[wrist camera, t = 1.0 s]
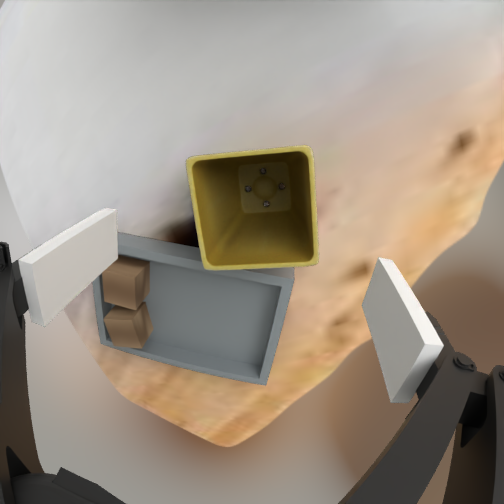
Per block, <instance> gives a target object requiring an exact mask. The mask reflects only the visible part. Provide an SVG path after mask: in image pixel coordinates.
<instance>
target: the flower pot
mask: <svg viewBox="0 0 504 504" xmlns="http://www.w3.org/2000/svg"><path fill="white" fill-rule="evenodd" d="M262 168H264V169H266V173H265V174H262V173H261V172H260V170H261V169H262ZM186 170H187V176H188V182H189V188H190V194H191V200H192V206H193V212H194V218H195V224H196V230H197V236H198V242H199V248H200V253H201V259H202V263H203V266H204V269H206V270H213V271H217V270H241V269H263V268H284V267H306V266H312V265H316V264H318V261H319V243H318V224H317V206H316V189H315V169H314V156H313V151H312V149H311V148H310V147H309V146H306V145H301V146H289V147H280V148H270V149H260V150H250V151H239V152H228V153H218V154H208V155H198V156H192V157H189V158H188V159H187V160H186ZM281 183H282V184H284V185H285V187H284V189H280V188H279V184H281ZM247 186H250V187H251V191H249V192H248V191H246V189H245V188H246V187H247ZM265 201H268V202H269V206H267V207H266V206H264V202H265Z"/></svg>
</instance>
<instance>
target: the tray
mask: <svg viewBox="0 0 504 504" xmlns="http://www.w3.org/2000/svg"><path fill="white" fill-rule="evenodd" d="M117 242H118V255H122V256H127V257H131V258H136V259H140V260H145V261H149V262H150V292H149V294H148V295H147V296H146V298H145V299H144V300H143V302H146V306H147V309H148V312H149V316H150V319H151V322H152V325H153V328H154V329H153V331H152V333H151V334H150V336H149V338H148V339H147V341H146V342H145V344H144V346H143V347H142V349H141V348H129V347H118V346H114V345H113V343H112V340H111V338H110V335H109V333H108V330H107V327H106V325H105V322H104V320H103V319H104V318H105V316H106V315H107V314H108V313H109V312H110V310H111V309H112V308H113V307H114V306H115V304H111V303H108V302H105V301H104V291H103V279H102V273H101V274H100V275H99V276H98V277H97V278H96V279H95V280H93V291H94V300H95V308H96V316H97V323H98V330H99V336H100V342H101V344H103V345H106V346H109V347H112V348H115V349H118V350H121V351H124V352H128V353H131V354H134V355H137V356H141V357H144V358H148V359H151V360H155V361H158V362H162V363H166V364H169V365H173V366H177V367H181V368H185V369H189V370H193V371H197V372H201V373H206V374H210V375H214V376H219V377H224V378H228V379H233V380H238V381H244V382H249V383H254V384H260V385H266V384H267V380H268V377H269V373H270V370H271V366H272V363H273V359H274V356H275V352H276V348H277V345H278V341H279V337H280V333H281V330H282V326H283V322H284V318H285V314H286V311H287V307H288V303H289V299H290V295H291V291H292V287H293V283H294V267H284V268H263V269H241V270H217V271H213V270H206V269H204V266H203V263H202V259H201V253H200V248H197V247H191V246H186V245H181V244H176V243H171V242H166V241H161V240H156V239H151V238H145V237H140V236H135V235H130V234H125V233H120V232H117Z"/></svg>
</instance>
